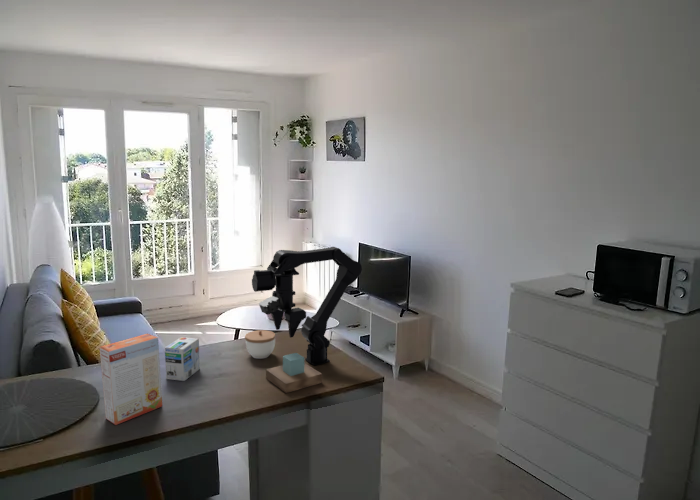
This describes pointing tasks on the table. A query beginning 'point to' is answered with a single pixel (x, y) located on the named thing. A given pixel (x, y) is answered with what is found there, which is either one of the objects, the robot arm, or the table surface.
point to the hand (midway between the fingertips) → (284, 333)
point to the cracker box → (131, 377)
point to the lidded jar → (260, 343)
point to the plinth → (293, 378)
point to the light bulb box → (182, 358)
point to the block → (293, 364)
